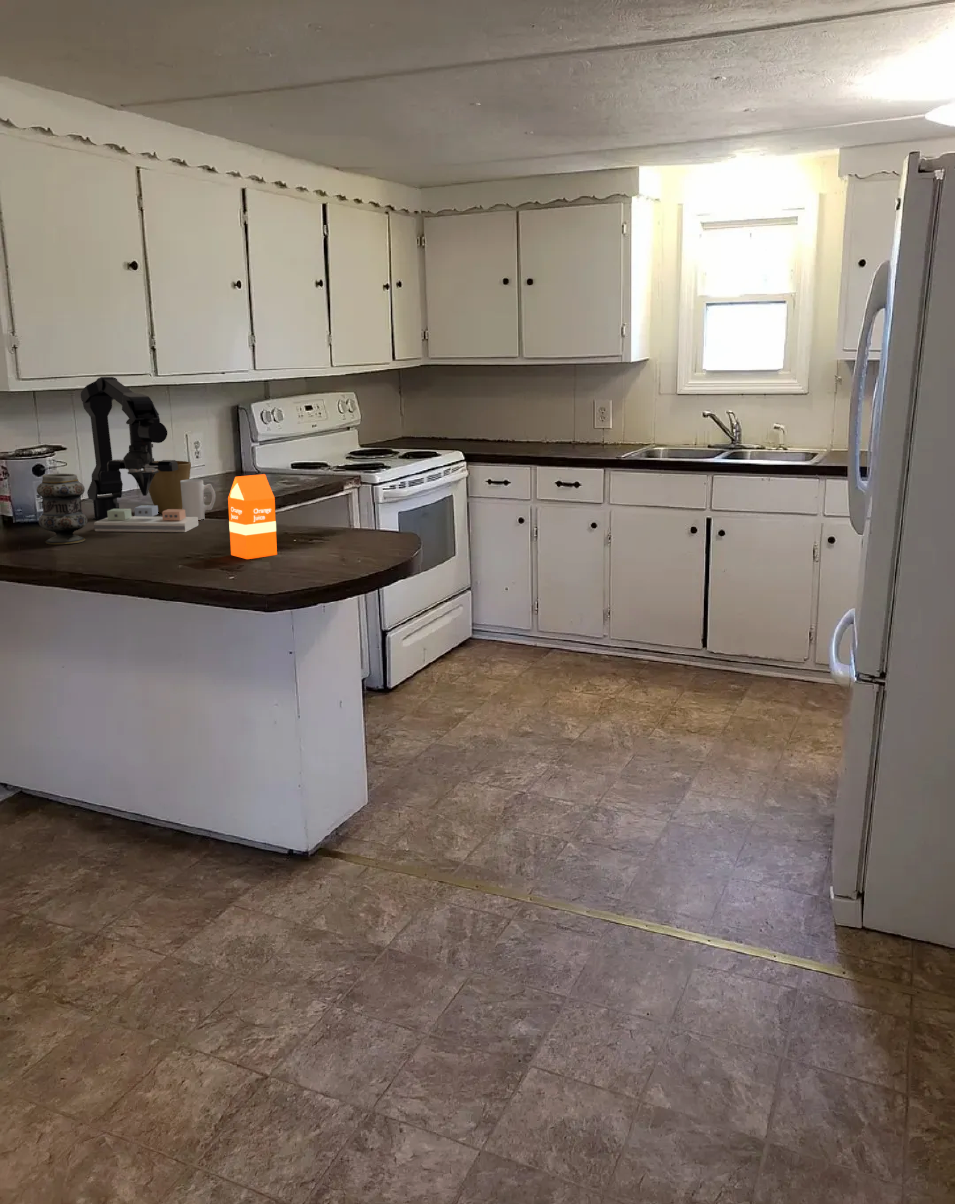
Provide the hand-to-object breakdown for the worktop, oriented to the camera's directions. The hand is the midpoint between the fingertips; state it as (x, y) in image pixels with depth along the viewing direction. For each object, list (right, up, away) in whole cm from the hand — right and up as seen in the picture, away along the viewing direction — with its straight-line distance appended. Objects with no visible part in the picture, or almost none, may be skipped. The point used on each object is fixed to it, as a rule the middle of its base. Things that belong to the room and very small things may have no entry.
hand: (144, 495), depth 283 cm
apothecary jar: (-15, -15, -20) cm, 29 cm away
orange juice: (+40, -19, -36) cm, 57 cm away
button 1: (-8, -7, +2) cm, 10 cm away
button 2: (0, -6, +1) cm, 6 cm away
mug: (+11, -6, +19) cm, 22 cm away
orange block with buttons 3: (+8, -7, +1) cm, 11 cm away
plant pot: (-3, -2, +33) cm, 33 cm away
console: (0, -9, +2) cm, 10 cm away
